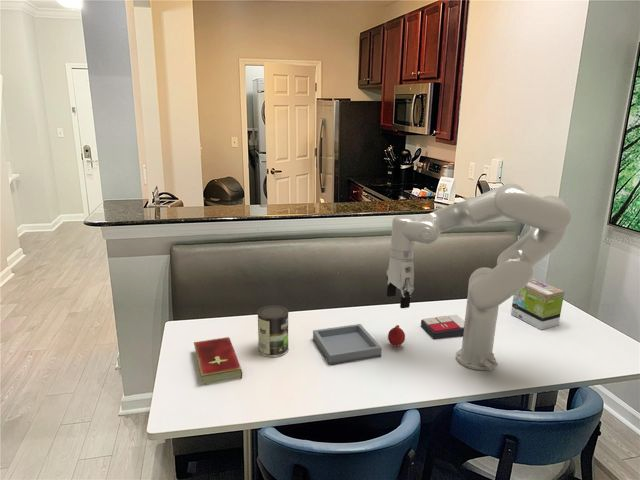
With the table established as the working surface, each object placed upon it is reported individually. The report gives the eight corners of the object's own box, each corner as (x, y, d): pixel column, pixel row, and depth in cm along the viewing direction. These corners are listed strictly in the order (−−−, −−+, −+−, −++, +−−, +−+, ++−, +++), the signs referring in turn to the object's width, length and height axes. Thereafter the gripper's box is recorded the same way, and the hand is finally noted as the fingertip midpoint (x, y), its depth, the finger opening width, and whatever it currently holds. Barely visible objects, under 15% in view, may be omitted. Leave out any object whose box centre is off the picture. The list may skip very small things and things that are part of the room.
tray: (381, 356, 154) (381, 347, 153) (329, 365, 149) (330, 355, 148) (359, 332, 171) (360, 323, 170) (312, 339, 165) (313, 330, 164)
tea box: (509, 314, 188) (514, 280, 183) (527, 310, 192) (532, 277, 188) (540, 330, 174) (546, 294, 170) (559, 326, 179) (565, 290, 174)
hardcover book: (230, 347, 160) (229, 336, 159) (242, 379, 141) (242, 367, 140) (194, 352, 156) (193, 341, 155) (202, 387, 137) (201, 374, 136)
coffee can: (292, 344, 162) (292, 306, 158) (283, 359, 152) (283, 319, 148) (263, 340, 164) (262, 303, 160) (253, 355, 154) (252, 316, 150)
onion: (399, 352, 157) (400, 330, 155) (384, 347, 161) (385, 326, 159) (407, 345, 162) (408, 324, 160) (392, 340, 165) (393, 320, 163)
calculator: (420, 317, 176) (456, 312, 179) (420, 328, 177) (456, 322, 180) (434, 331, 166) (472, 325, 169) (433, 342, 167) (471, 336, 170)
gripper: (425, 261, 145) (420, 311, 150) (399, 245, 161) (395, 291, 166) (404, 262, 143) (399, 313, 148) (379, 246, 159) (376, 293, 163)
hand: (397, 301), depth 157 cm, fingers open, 9 cm apart
